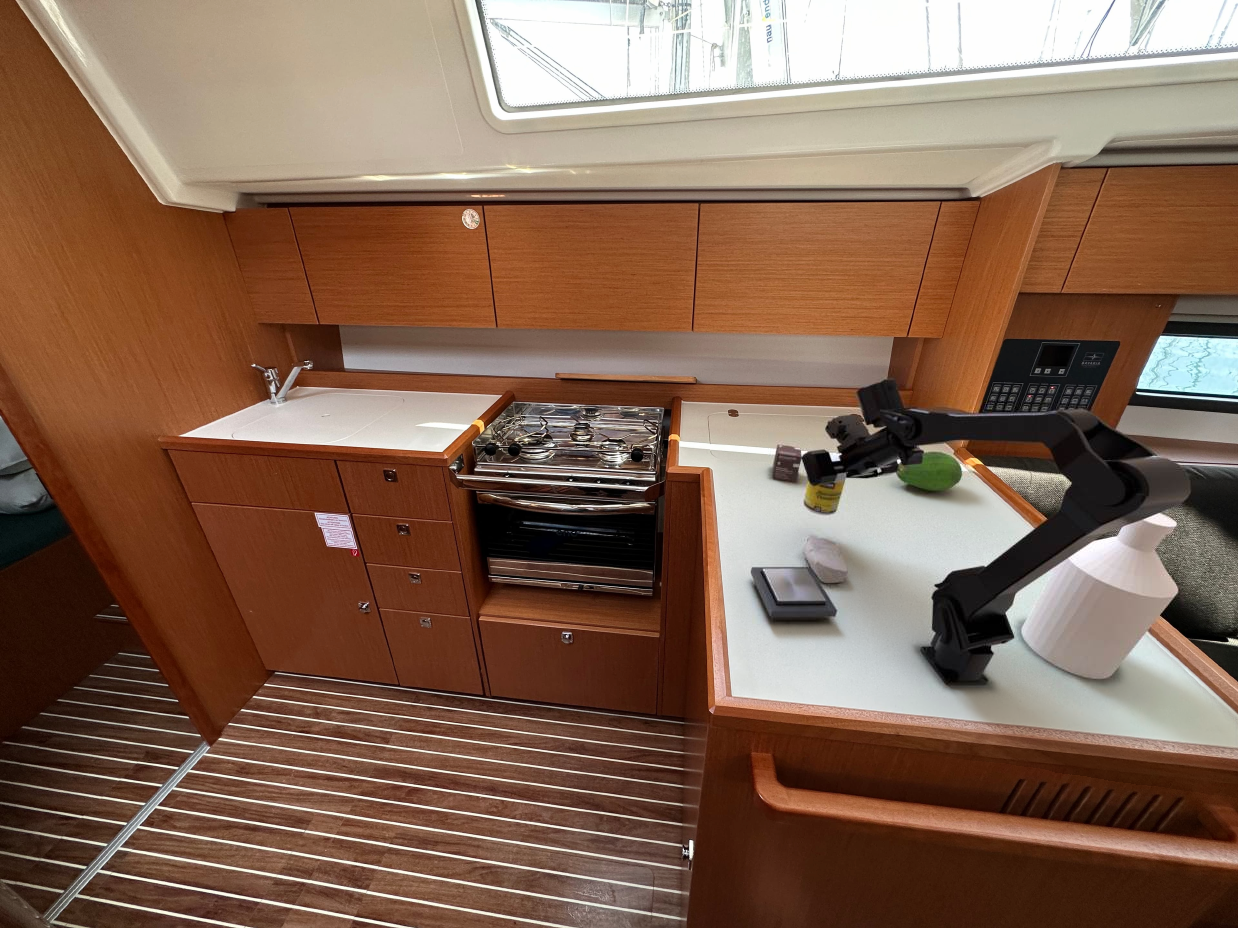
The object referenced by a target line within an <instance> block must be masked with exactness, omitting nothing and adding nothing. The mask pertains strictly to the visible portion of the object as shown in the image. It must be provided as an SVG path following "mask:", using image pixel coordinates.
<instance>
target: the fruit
mask: <svg viewBox="0 0 1238 928" xmlns="http://www.w3.org/2000/svg"><path fill="white" fill-rule="evenodd" d="M898 465H899V467H898V470H897V472H896V473H895V475H896V476H897V478H898V479H899V480H900V481H901V482H904V483H905V484H908V485H911V486H913V487H915V488H919V489H920V490H921V489H922V490H925V491H930V492H931V491H932V492H939V491H945V490H949V489H951V488H953V487H955V486H956V485H957V484H959V483H960V481H961V480H962V477H963V469H962V467H961V464H960V463H959V462H958V460H957V459H956V458H955V457H953V456H952V455H950V454H949V453H946V452H942V451H924V453H923V460H922V464H920V465H910V466H903V465H902V463H901V461H900V462H898Z"/></svg>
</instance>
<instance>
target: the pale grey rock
mask: <svg viewBox="0 0 1238 928" xmlns="http://www.w3.org/2000/svg"><path fill="white" fill-rule="evenodd" d="M802 550H803V551H802V553H803V556H804V558H805V559H806V561H807V563H808V565H809V567H810V568H811V569H812V571H813V573H814V574H815V576H816V577H817V579H818V580H819V581H821V582H822V583H825V584H836V583H843V582H844V581H845V578H846V577H847V576H848V575H847V574H848V568H847V566H846V564H845V562H844V560H843V557H842V554H841V552H840V550H839V548H838V546H837V544H836V542H835V541H831V540H828V539H823V538H821V537H820V538H819V537H817V536H814V535H811V534H809V535H808V537H807V538H806V541H805V544H804V546H803V549H802Z"/></svg>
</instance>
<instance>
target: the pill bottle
mask: <svg viewBox="0 0 1238 928" xmlns="http://www.w3.org/2000/svg"><path fill="white" fill-rule="evenodd" d="M829 454H830V457H831V460H832V462H833V461H840V459H839V455H840V454H839V453H834V452H829ZM835 469H838V468H835ZM846 480H847V478H846V473H843V474H837V477H836V480H835V482H833V484H827V485H820V486H812V485H811V484H810V482H809V481H808V480H807V486H806V490H805V494H804V497H803V498H804V499H803V506H804V507H805V509H807V511H809V512H810V513H813V514H816V515H820V516H831V515H834V514H835V513H836V512H837V511H838V507H839V504H840V501H841V497H842V494H843V490H844V486H845V483H846Z"/></svg>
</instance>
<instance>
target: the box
mask: <svg viewBox="0 0 1238 928" xmlns="http://www.w3.org/2000/svg"><path fill="white" fill-rule="evenodd" d="M802 456H803V454H802V448H801V447H796V446H791V445H786V444H785V445H784V444H776V449H775V453H774V458H773V463H772V468H771V469H772V470H771V475H772V476H771V477H772V479H775V480H781V481H788V482H793V483H796V482H797V479H798V475H799V471H800V467H801V464H802V463H801V462H802Z"/></svg>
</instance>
